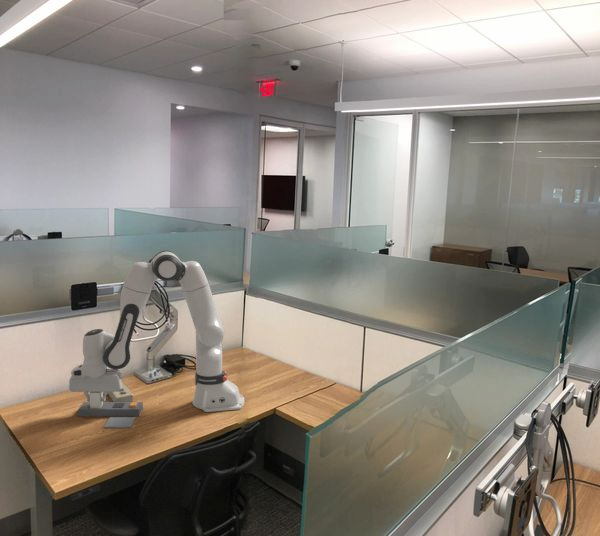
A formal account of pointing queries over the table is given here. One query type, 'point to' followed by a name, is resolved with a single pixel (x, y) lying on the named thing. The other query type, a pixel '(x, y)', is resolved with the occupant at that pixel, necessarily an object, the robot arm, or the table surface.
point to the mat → (119, 422)
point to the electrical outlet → (122, 395)
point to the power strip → (112, 409)
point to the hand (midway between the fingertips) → (96, 401)
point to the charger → (96, 399)
